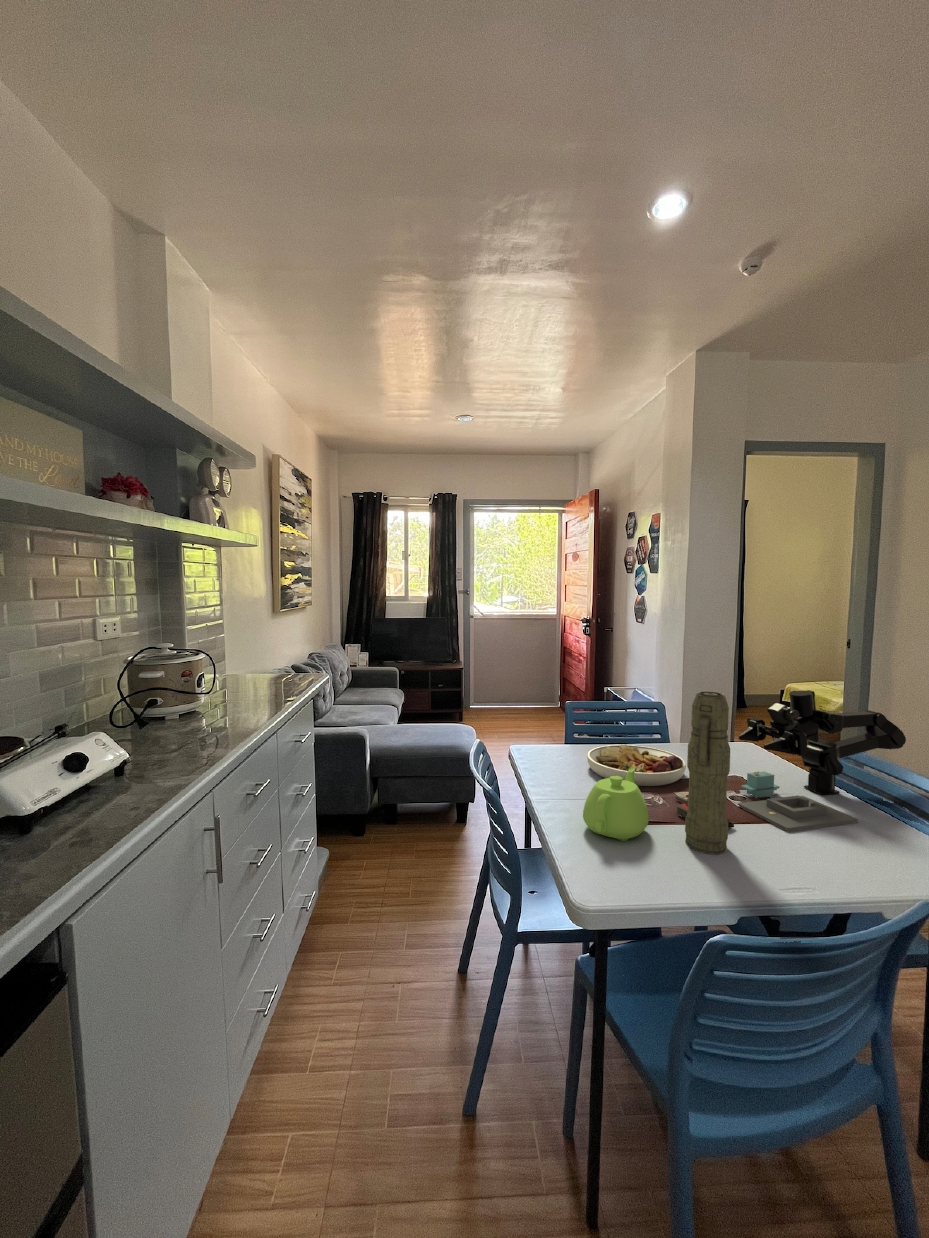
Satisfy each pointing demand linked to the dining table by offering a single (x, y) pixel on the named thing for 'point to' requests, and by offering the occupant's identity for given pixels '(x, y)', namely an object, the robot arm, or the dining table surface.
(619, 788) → the teapot
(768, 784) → the servo
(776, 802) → the plate
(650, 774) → the bowl
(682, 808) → the walkie-talkie
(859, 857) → the dining table surface
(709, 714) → the thermos
